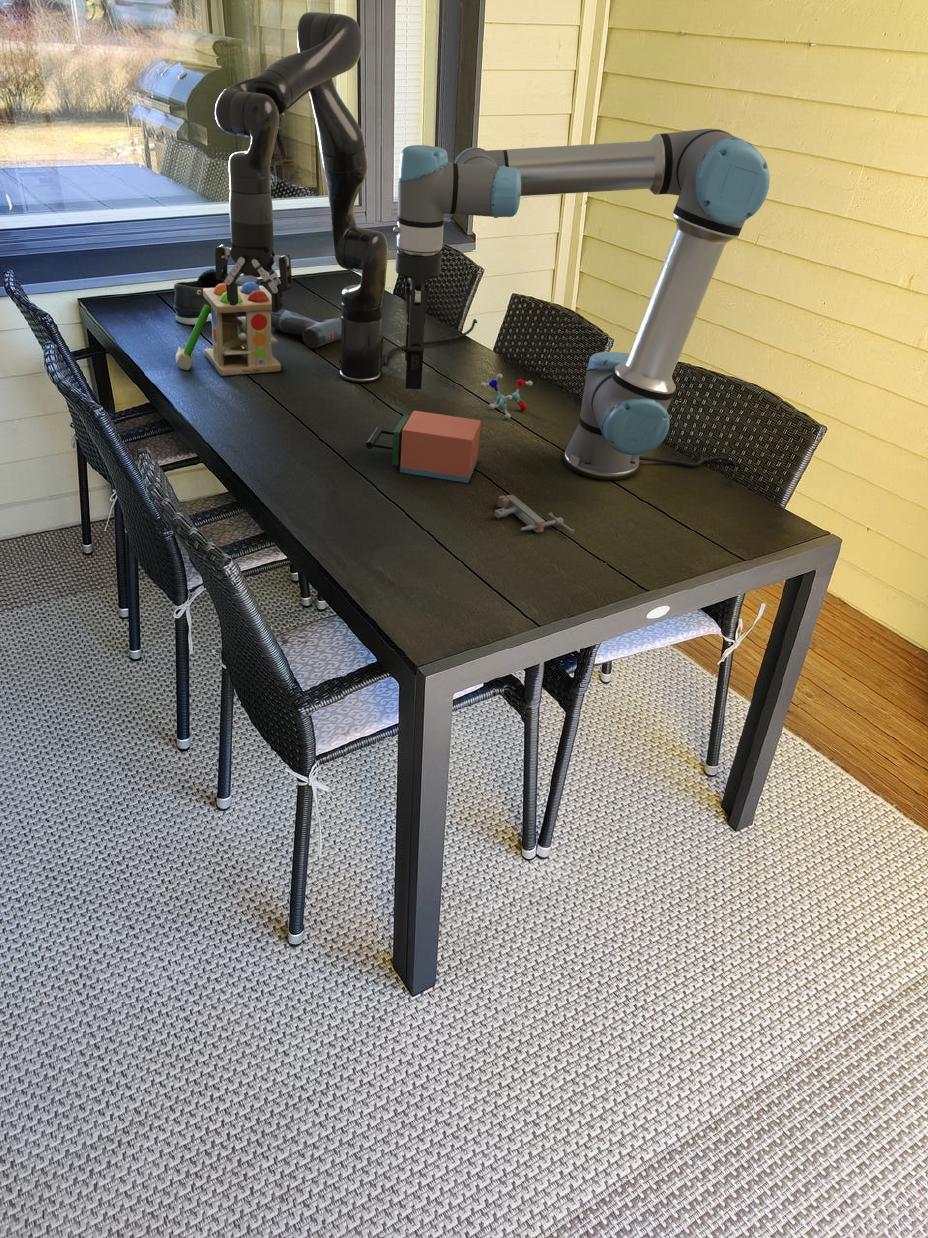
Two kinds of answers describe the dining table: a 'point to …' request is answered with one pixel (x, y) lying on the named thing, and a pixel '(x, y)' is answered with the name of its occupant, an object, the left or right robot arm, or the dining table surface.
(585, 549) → the dining table surface
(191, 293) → the boat shoe
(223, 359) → the pounding bench toy
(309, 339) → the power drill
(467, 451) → the cabinet
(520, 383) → the molecular model
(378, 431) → the drawer
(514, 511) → the clamp
